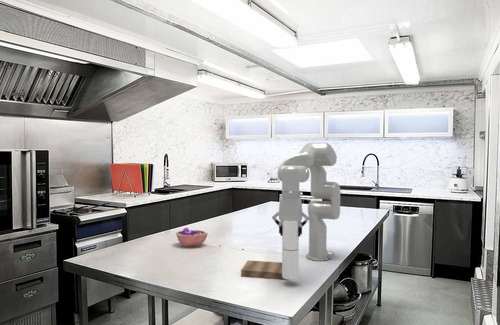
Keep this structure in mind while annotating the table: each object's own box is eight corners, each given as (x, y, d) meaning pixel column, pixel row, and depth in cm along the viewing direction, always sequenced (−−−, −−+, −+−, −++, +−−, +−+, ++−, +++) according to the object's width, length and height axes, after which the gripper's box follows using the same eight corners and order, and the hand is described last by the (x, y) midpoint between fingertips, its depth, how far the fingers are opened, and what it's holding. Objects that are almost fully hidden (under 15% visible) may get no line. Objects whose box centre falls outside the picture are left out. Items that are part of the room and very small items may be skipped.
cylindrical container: (289, 280, 151) (290, 222, 150) (278, 276, 157) (278, 219, 156) (301, 277, 155) (302, 220, 154) (290, 272, 161) (291, 217, 160)
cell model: (202, 250, 211) (202, 231, 211) (170, 248, 215) (171, 229, 215) (211, 243, 228) (211, 226, 227) (181, 242, 232) (181, 224, 231)
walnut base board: (290, 269, 177) (291, 263, 177) (288, 279, 161) (288, 273, 161) (247, 266, 181) (247, 260, 181) (241, 276, 165) (241, 270, 165)
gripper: (311, 194, 157) (310, 234, 157) (271, 193, 160) (271, 232, 161) (310, 196, 149) (310, 238, 150) (269, 195, 153) (269, 236, 153)
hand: (290, 235), depth 155 cm, fingers closed on cylindrical container, 7 cm apart
